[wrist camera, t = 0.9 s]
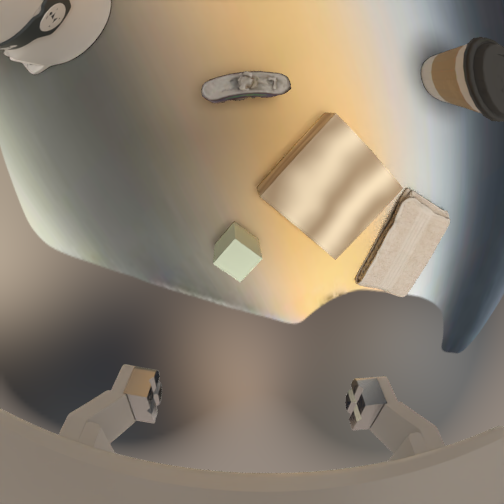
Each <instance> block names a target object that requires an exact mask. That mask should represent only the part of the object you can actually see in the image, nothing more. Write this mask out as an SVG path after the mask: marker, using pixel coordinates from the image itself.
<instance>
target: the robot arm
mask: <svg viewBox="0 0 504 504" xmlns="http://www.w3.org/2000/svg"><path fill="white" fill-rule="evenodd" d="M110 8H111V0H0V49H1V50H5V51H4V54H5V55H6V56H10V59H11V60H13V61H17V62H22V63H23V64H24V66H25V67H26V68H27V70H28V71H29V72H30V73H31V74H39V73H41V72H42V71H44V70H45V69H47V68H48V67H49V66H52V65H56V64H61V63H65V62H67V61H70V60H72V59H74V58H75V57H77V56H79V55H80V54H81V53H83V52H84V51H85V50H86V49H87V48H89V47H90V46H91V45H92V43H93V42H94V41H95V40H96V39H97V37H98V36H99V35H100V33H101V32H102V30H103V28H104V26H105V24H106V22H107V20H108V17H109V13H110ZM159 377H160V375H159V371H158V370H153V369H148V368H142V367H137V366H131V365H126V364H124V365H123V366H122V368H121V370H120V372H119V374H118V377H117V379H116V381H115V383H114V385H113V387H112V389H111V391H109V390H107V391H106V392H104V393H103V394H101V395H99V396H98V397H96V398H94V399H93V400H92V401H90V402H88V403H86V404H85V405H83V406H81V407H80V408H78V409H76V410H75V411H73V412H71V413H70V414H69V415H68V417H67V419H66V421H65V423H64V425H63V427H62V429H61V431H60V433H59V435H57V434H55V433H52V432H50V431H47V430H45V429H42V428H40V427H38V426H35V425H33V424H31V423H29V422H27V421H25V420H22V419H20V418H18V417H16V416H14V415H12V414H10V413H8V412H6V411H4V410H2V409H0V504H504V427H503V426H497V427H495V428H493V429H490V430H488V431H485V432H483V433H480V434H478V435H475V436H473V437H470V438H467V439H465V440H462V441H459V442H456V443H454V444H451V445H447V446H445V444H444V442H443V440H442V438H441V436H440V433H439V431H438V429H437V427H436V426H435V425H433V424H432V423H430V422H429V421H427V420H426V419H425V418H423V417H421V416H420V415H419V414H417V413H416V412H415V411H413V410H412V409H410V408H409V407H407V406H406V405H404V404H403V403H402V402H398V401H397V398H396V396H395V394H394V392H393V389H392V387H391V385H390V383H389V380H388V378H387V377H386V376H382V377H370V378H358V379H354V380H353V381H352V383H351V387H352V389H350V390H349V391H348V392H347V395H346V401H345V403H346V410H347V412H349V413H350V414H351V416H350V418H349V421H350V424H351V428H352V430H363V429H370V431H371V432H373V434H374V435H375V436H376V437H377V438H378V439H379V440H380V441H382V443H383V444H385V446H386V447H387V448H388V449H389V450H391V452H392V453H393V455H392V457H391V458H390V459H389V460H388V461H387V462H382V463H377V464H371V465H365V466H359V467H352V468H344V469H336V470H327V471H315V472H299V473H238V472H222V471H210V470H201V469H193V468H185V467H178V466H172V465H166V464H161V463H155V462H150V461H145V460H141V459H136V458H131V457H128V456H124V455H119V454H116V453H115V452H114V450H113V448H112V447H111V445H110V443H111V442H112V441H113V440H115V439H116V438H117V437H118V436H119V435H120V434H122V433H123V432H124V431H125V430H126V429H127V428H128V427H130V426H131V425H132V424H133V423H134V422H135V420H136V421H142V422H148V423H155V419H156V416H157V412H158V411H157V407H156V406H157V405H159V404H160V401H161V397H162V385H161V383H160V382H159Z"/></svg>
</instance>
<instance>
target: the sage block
mask: <svg viewBox="0 0 504 504" xmlns="http://www.w3.org/2000/svg"><path fill="white" fill-rule="evenodd" d="M262 259H263V258H262V254H261V249H260V244H259V240H258V239H257V238H256V237H254V236H253V235H252V234H250V233H249V232H248V231H246V230H245V229H244V228H242V227H241V226H240V225H238V224H237V223H236V222H235V221H234V223H233V224H232V225H231V226H230V227H229V228H228V230H227V231H226V232H225V233H224V234H223V235H222V237H221V238H220V239H219V240H218V241H217V242H216V244H215V249H214V259H213V264H214V265H215V266H217V267H218V268H220V269H221V270H223V271H224V272H226V273H227V274H229V275H230V276H232V277H233V278H235V279H236V280H238V281H239V282H241V281H242V280H243V279H244V278H245V277H246V276H247V275H248V274H249V273H250V272H251V270H252V269H253V268H254V267H255V266H256V265H257V264H258V263H259V262H260V261H261V260H262Z"/></svg>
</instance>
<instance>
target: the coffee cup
mask: <svg viewBox="0 0 504 504" xmlns="http://www.w3.org/2000/svg"><path fill="white" fill-rule="evenodd" d="M421 77H422V82H423V84H424V87H425V88H426V90H427V91H428V93H429V94H430V95H432V96H433V97H435V98H436V99H438V100H440V101H443V102H447V103H450V104H454V105H457V106H461V107H464V108H467V109H470V110H473V111H476V112H479V113H482V114H483V116H485V117H486V118H488V119H490V120H491V121H504V47H503V46H501V45H499V44H498V43H497V42H495V41H494V40H491V39H488V38H482V37H478V38H473V39H472V40H471V41H470V42H469V43H468V44H467V45H464V46H461V47H458V48H455V49H452V50H449V51H446V52H443V53H440V54H437V55H435V56H432V57H430V58H429V59H427V60H426V61H425V62H424V63H423V66H422V69H421Z"/></svg>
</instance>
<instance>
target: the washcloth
mask: <svg viewBox="0 0 504 504" xmlns="http://www.w3.org/2000/svg"><path fill="white" fill-rule="evenodd" d="M449 223H450V219H449V214H448V212H447V211H445V210H442V209H440V208H439V207H437V206H436V205H434V204H433V203H431V202H430V201H428V200H427V199H425V198H423V197H422V196H420V195H419V194H417V193H416V192H414V191H412V190H410V189H406V190H405V191H404V192H403V195H402V196H400V197H399V199H398V200H397V202H396V204H395V206H394V207H393V209H392V210H391V212H390V214H389V216H388V218H387V220H386V222H385V224H384V226H383V228H382V230H381V231H380V233H379V235H378V237H377V239H376V241H375V243H374V244H373V246H372V248H371V250H370V252H369V254H368V256H367V257H366V259H365V261H364V262H363V264H362V266H361V268H360V269H359V271H358V273H357V276H356V284H359V285H360V286H365V287H372V288H378V289H381V290H384V292H387V293H390V294H393V295H396V296H399V297H404V296H406V295H407V294H408V292H409V291H410V289H411V288H412V286H413V285H414V283H415V281H416V279H417V278H418V277H419V275H420V274H421V272H422V271H423V269H424V267H425V266H426V265H427V263H428V261H429V259H430V258H431V256H432V254H433V253H434V250H435V249H436V247H437V245H438V243H439V242H440V240H441V237H443V235H444V233H445V231H446V230H447V227H448V226H449Z"/></svg>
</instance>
